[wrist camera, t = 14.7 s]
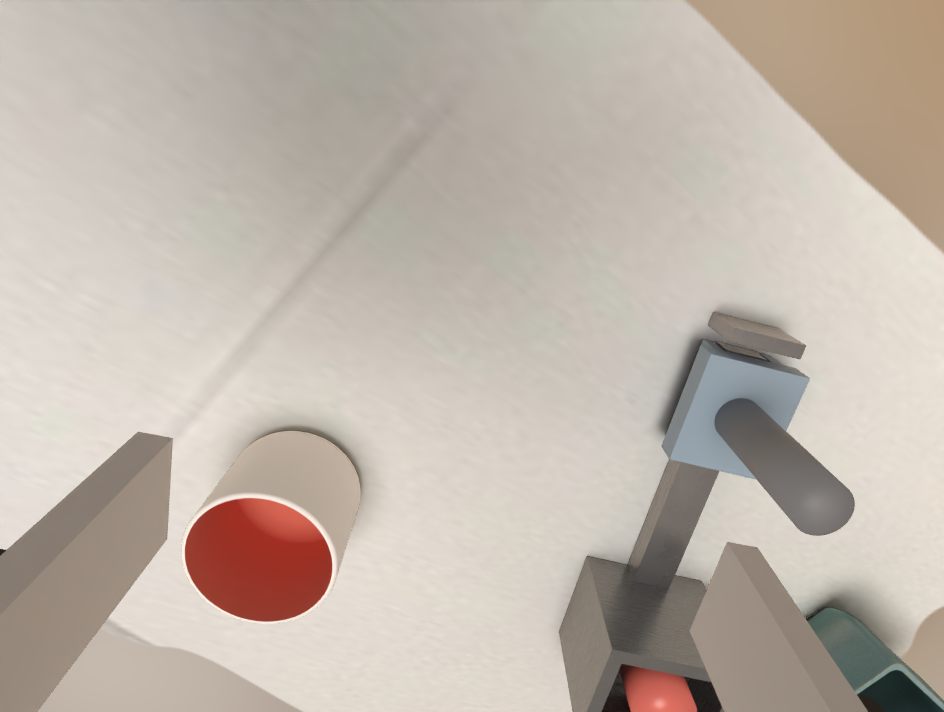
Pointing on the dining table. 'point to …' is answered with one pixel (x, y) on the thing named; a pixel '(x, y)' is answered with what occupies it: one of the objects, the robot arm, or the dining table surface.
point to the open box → (630, 636)
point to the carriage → (755, 435)
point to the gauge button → (656, 691)
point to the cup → (274, 529)
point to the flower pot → (872, 665)
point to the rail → (694, 469)
